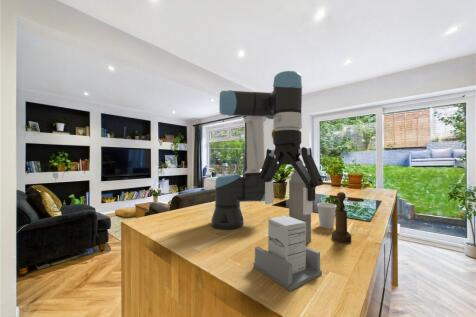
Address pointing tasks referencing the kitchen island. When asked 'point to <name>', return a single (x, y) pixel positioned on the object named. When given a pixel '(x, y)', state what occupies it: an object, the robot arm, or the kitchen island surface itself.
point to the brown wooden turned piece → (341, 222)
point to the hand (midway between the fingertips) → (286, 208)
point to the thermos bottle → (298, 202)
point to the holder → (287, 268)
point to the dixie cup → (326, 214)
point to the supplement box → (288, 241)
